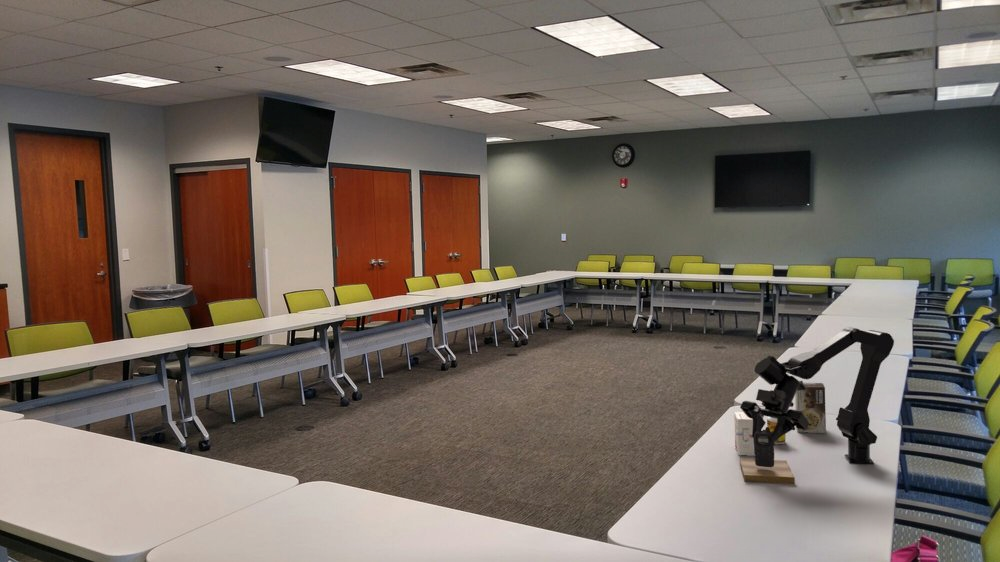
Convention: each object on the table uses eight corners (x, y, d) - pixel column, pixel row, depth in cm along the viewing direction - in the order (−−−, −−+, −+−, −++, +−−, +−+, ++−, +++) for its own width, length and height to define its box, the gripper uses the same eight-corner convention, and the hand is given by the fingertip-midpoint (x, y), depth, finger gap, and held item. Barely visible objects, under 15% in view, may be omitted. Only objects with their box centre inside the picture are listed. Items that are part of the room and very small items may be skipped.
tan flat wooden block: (739, 465, 200) (739, 458, 200) (786, 467, 197) (786, 460, 197) (744, 482, 187) (744, 474, 187) (794, 484, 184) (794, 477, 183)
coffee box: (823, 428, 233) (823, 382, 232) (826, 433, 227) (825, 386, 226) (795, 427, 236) (794, 381, 235) (796, 432, 230) (796, 386, 229)
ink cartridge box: (734, 447, 217) (733, 402, 216) (750, 447, 216) (749, 402, 215) (738, 455, 209) (737, 409, 208) (754, 456, 208) (754, 409, 207)
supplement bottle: (763, 441, 222) (763, 410, 221) (776, 438, 224) (775, 408, 223) (776, 445, 216) (776, 414, 216) (789, 443, 219) (789, 412, 218)
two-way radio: (753, 466, 190) (751, 414, 189) (755, 461, 194) (753, 410, 193) (774, 468, 187) (772, 416, 187) (776, 463, 191) (774, 412, 190)
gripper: (742, 373, 199) (720, 417, 193) (802, 383, 184) (780, 431, 178) (759, 395, 204) (738, 438, 198) (818, 405, 189) (797, 453, 183)
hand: (761, 439), depth 189 cm, fingers closed on two-way radio, 5 cm apart
